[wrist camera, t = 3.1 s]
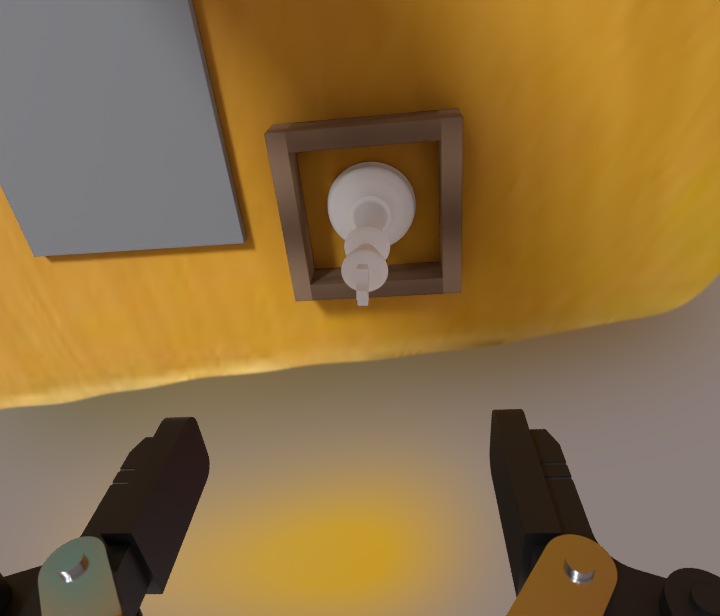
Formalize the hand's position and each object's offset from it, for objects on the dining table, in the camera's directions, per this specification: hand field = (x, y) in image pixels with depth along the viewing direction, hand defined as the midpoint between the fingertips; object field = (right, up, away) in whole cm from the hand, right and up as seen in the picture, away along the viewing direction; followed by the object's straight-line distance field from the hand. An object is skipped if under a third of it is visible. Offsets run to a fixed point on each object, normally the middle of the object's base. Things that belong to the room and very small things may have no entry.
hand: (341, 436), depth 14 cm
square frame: (+1, +9, +15) cm, 17 cm away
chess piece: (+1, +9, +15) cm, 18 cm away
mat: (-13, +13, +13) cm, 23 cm away
